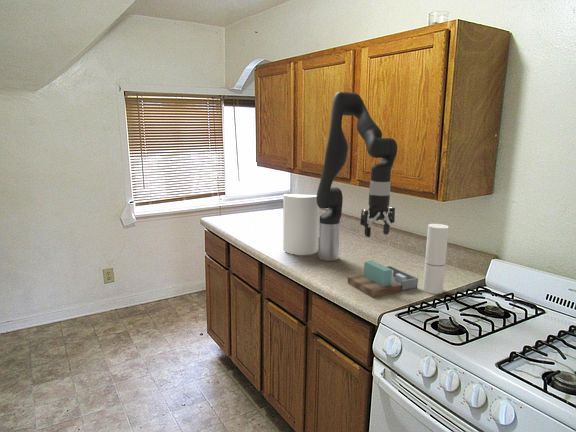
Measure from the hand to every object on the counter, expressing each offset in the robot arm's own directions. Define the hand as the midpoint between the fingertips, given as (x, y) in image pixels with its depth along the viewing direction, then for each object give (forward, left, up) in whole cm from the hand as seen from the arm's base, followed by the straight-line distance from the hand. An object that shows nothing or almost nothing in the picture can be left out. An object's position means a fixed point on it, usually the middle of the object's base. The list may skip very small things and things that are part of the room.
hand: (376, 235), depth 156 cm
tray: (+1, +10, -20) cm, 22 cm away
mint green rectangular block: (+1, 0, -18) cm, 18 cm away
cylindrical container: (+13, +17, -20) cm, 30 cm away
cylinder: (-54, -3, -20) cm, 58 cm away
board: (+1, -1, -20) cm, 20 cm away
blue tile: (+5, +8, -18) cm, 20 cm away
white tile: (-2, +8, -18) cm, 19 cm away
